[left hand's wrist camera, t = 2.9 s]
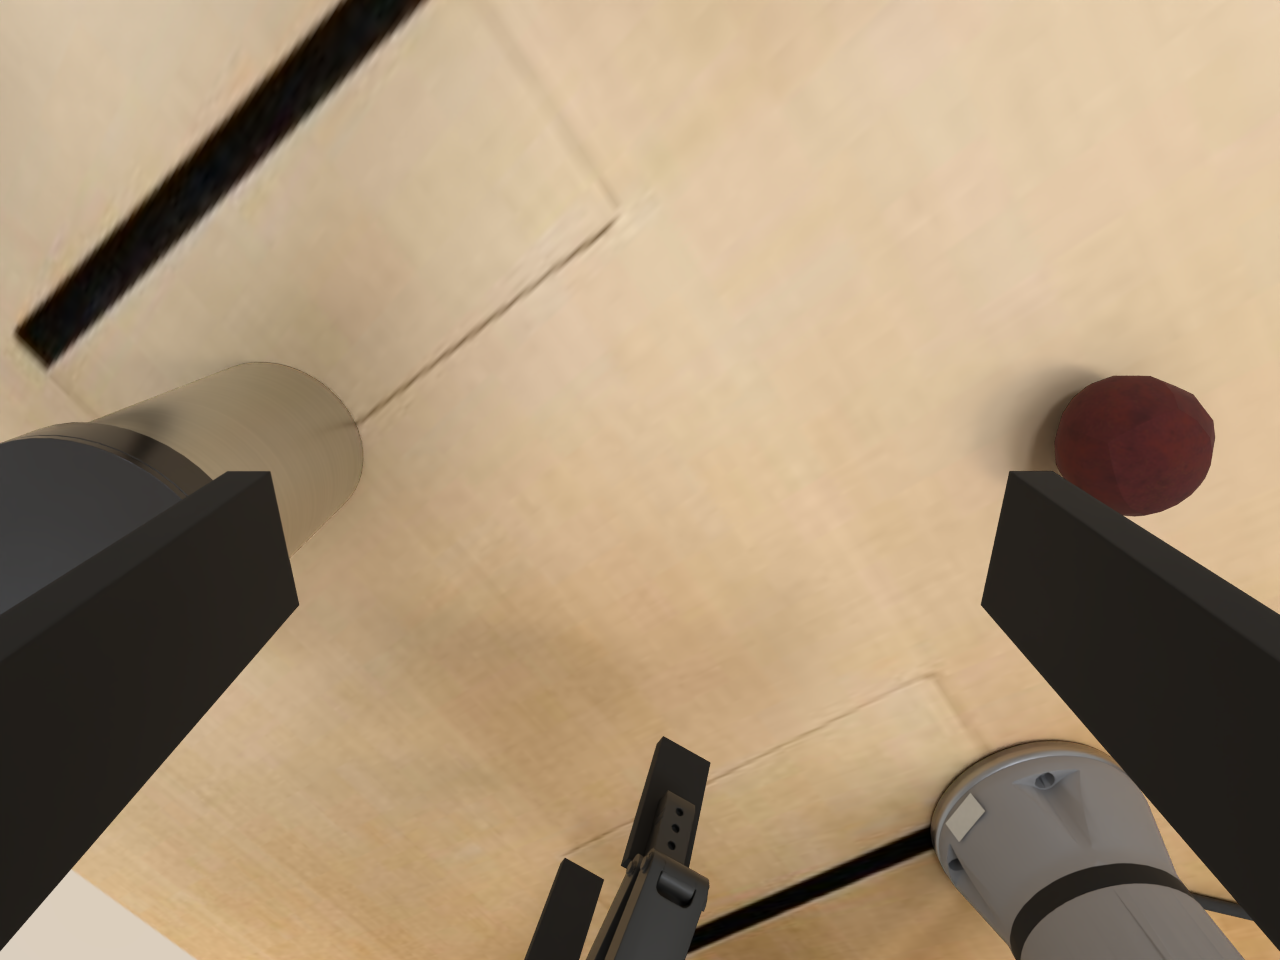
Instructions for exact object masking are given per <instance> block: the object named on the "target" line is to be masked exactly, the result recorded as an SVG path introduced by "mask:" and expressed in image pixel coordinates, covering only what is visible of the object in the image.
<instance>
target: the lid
mask: <svg viewBox="0 0 1280 960" xmlns="http://www.w3.org/2000/svg"><path fill="white" fill-rule="evenodd" d="M211 481H213V480H212V479H211V478H210V477H209V476H208V475H207V474H206V473H205V472H204V471H203V470H202V469H201V468H200V467H198V466H197V465H196V464H194V463H193V462H192V461H190V460H189V459H188V458H186V457H185V456H184V455H182V454H180V453H179V452H177V451H176V450H174V449H172V448H171V447H169V446H167V445H165V444H163V443H161V442H159V441H157V440H155V439H153V438H151V437H149V436H146V435H143V434H141V433H138V432H135V431H132V430H129V429H125V428H121V427H117V426H113V425H106V424H99V423H80V422H72V423H64V424H56V425H52V426H48V427H45V428H41V429H38V430H35V431H32V432H30V433H27V434H24V435H21V436H19V437H16V438H13V439H10V440H8V441H5V442H2V443H0V615H1V614H2V613H4V612H5V611H7V610H9V609H10V608H12V607H13V606H15V605H17V604H18V603H20V602H21V601H23V600H24V599H26V598H28V597H29V596H31V595H32V594H34V593H35V592H37V591H39V590H40V589H42V588H43V587H45V586H47V585H48V584H50V583H51V582H53V581H54V580H56V579H58V578H59V577H61V576H62V575H64V574H66V573H67V572H69V571H70V570H72V569H73V568H75V567H77V566H78V565H80V564H81V563H83V562H84V561H86V560H88V559H89V558H91V557H92V556H94V555H96V554H97V553H99V552H100V551H102V550H103V549H105V548H107V547H108V546H110V545H111V544H113V543H115V542H116V541H118V540H119V539H121V538H122V537H124V536H126V535H127V534H129V533H130V532H132V531H134V530H135V529H137V528H138V527H140V526H141V525H143V524H145V523H146V522H148V521H149V520H151V519H152V518H154V517H156V516H157V515H159V514H160V513H162V512H164V511H165V510H167V509H168V508H170V507H171V506H173V505H175V504H176V503H178V502H179V501H181V500H183V499H184V498H186V497H187V496H189V495H190V494H192V493H194V492H195V491H197V490H198V489H200V488H201V487H203V486H205V485H206V484H208V483H209V482H211Z"/></svg>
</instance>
